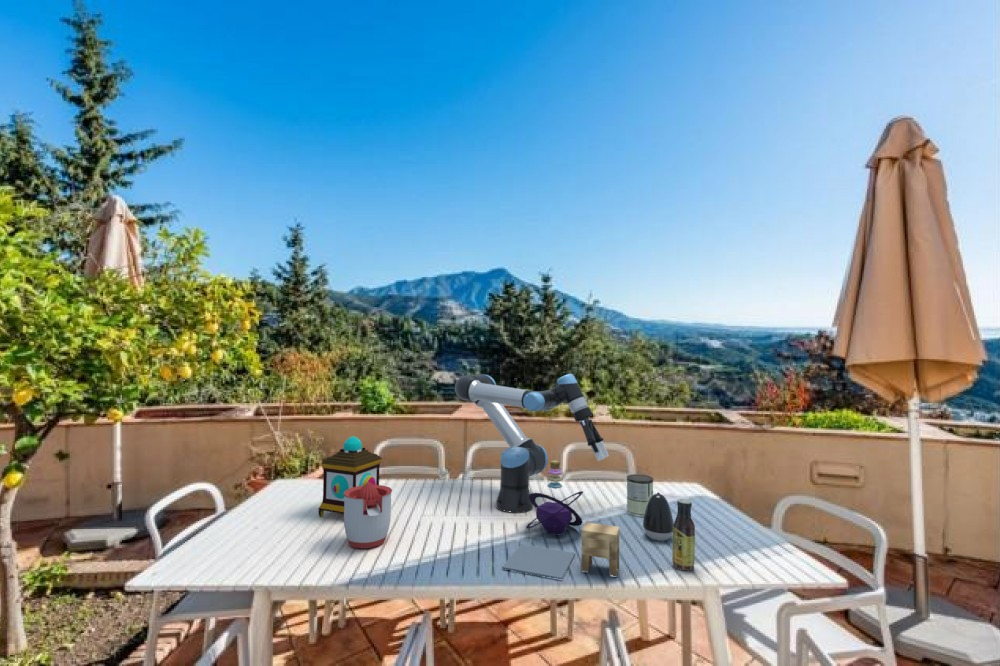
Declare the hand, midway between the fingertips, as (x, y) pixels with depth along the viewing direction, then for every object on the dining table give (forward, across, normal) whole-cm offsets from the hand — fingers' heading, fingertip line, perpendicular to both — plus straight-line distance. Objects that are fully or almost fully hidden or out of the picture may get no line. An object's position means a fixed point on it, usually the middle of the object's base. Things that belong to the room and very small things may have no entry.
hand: (603, 458), depth 189 cm
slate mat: (+19, -49, +23) cm, 57 cm away
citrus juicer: (-6, -57, +74) cm, 94 cm away
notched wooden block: (+27, -47, +7) cm, 55 cm away
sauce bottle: (+37, -36, -14) cm, 53 cm away
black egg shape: (+31, -15, -8) cm, 35 cm away
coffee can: (+25, +10, -2) cm, 27 cm away
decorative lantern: (-20, -35, +94) cm, 102 cm away
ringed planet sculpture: (+16, -23, +24) cm, 37 cm away
